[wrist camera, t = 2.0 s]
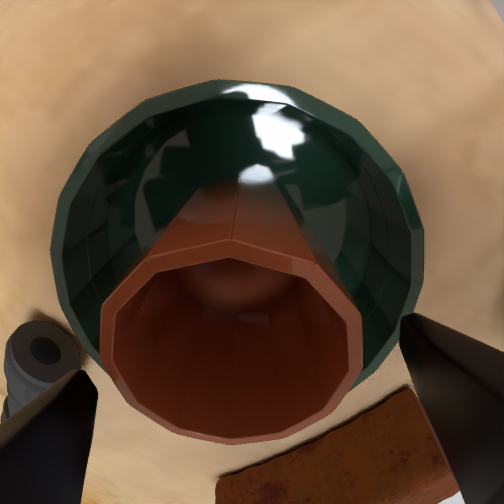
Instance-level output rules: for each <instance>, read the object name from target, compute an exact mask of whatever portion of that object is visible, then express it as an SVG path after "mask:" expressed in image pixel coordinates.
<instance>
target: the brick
mask: <svg viewBox="0 0 504 504" xmlns="http://www.w3.org/2000/svg"><path fill="white" fill-rule="evenodd" d="M459 491H460V489H459V487H458V484H457V482H456V479H455V477H454V474H453V472H452V470H451V467H450V465H449V462H448V460H447V458H446V455H445V453H444V451H443V449H442V446H441V444H440V442H439V440H438V437H437V435H436V433H435V431H434V429H433V427H432V424H431V422H430V420H429V418H428V416H427V414H426V412H425V410H424V408H423V406H422V404H421V402H420V401H419V399H418V398H417V397H416V395H415V394H414V393H413V391H412V390H411V389H407V390H404V391H402V392H400V393H397V394H395V395H393V396H392V397H391V398H389V399H388V400H387V401H386V402H385V403H383V404H381V405H380V406H378V407H376V408H375V409H373V410H371V411H369V412H367V413H365V414H362V415H360V416H359V417H358V418H357V419H355V420H354V421H353V422H351V423H349V424H347V425H345V426H343V427H342V428H340V429H337V430H334V431H331V432H330V433H328V434H327V435H326V436H324V437H322V438H321V439H318V440H316V441H314V442H312V443H310V444H306V445H303V446H301V447H300V448H298V449H297V450H295V451H293V452H290V453H288V454H286V455H283V456H279V457H276V458H274V459H272V460H270V461H269V462H266V463H264V464H261V465H259V466H255V467H250V468H248V469H247V470H245V471H243V472H240V473H237V474H233V475H227V476H225V477H223V478H221V479H220V480H219V481H218V482H217V484H216V488H215V496H216V499H215V504H438V503H440V502H441V501H443V500H445V499H447V498H449V497H452V496H453V495H455V494H456V493H457V492H459Z"/></svg>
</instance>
